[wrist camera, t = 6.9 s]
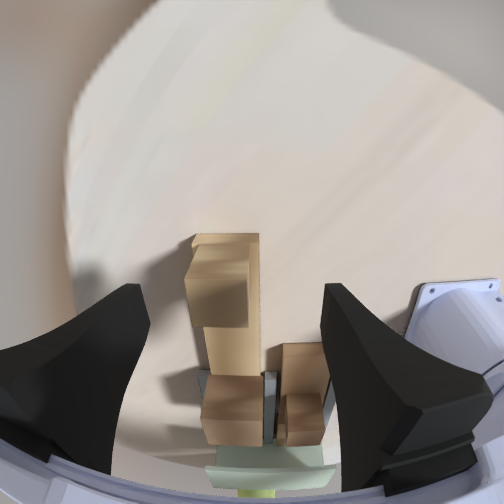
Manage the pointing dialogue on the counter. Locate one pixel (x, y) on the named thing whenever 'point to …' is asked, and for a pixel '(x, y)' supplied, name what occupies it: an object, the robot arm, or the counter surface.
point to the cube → (233, 410)
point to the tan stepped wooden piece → (227, 300)
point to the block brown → (303, 393)
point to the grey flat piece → (270, 406)
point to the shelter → (269, 467)
